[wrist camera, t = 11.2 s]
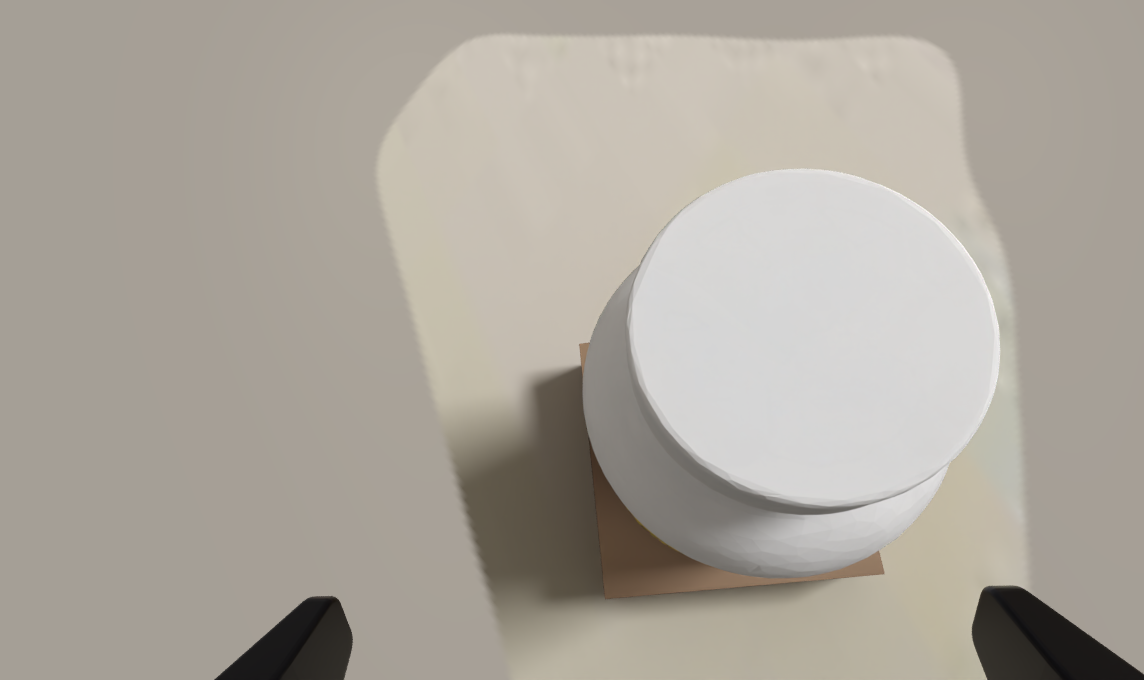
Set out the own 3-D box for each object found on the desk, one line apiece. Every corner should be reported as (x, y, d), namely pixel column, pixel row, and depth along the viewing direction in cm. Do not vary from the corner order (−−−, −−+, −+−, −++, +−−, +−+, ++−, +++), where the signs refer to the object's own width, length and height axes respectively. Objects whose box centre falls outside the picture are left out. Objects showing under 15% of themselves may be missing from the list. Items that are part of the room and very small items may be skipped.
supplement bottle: (570, 453, 21) (449, 324, 9) (706, 318, 21) (771, 27, 9) (722, 611, 19) (849, 739, 6) (866, 455, 19) (1215, 308, 7)
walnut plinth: (858, 570, 21) (884, 574, 18) (610, 592, 21) (605, 599, 19) (804, 336, 23) (821, 312, 21) (586, 363, 24) (579, 343, 22)
